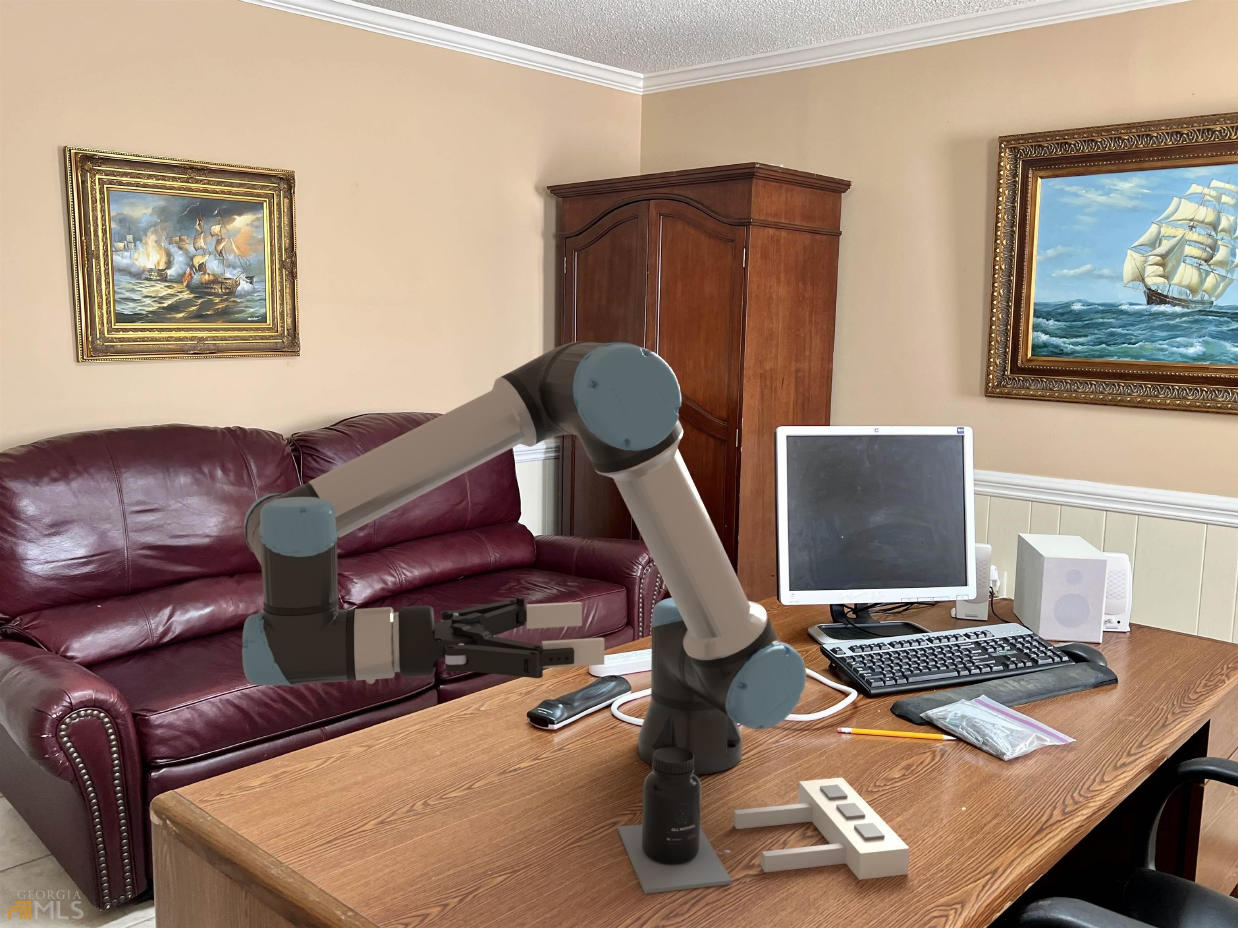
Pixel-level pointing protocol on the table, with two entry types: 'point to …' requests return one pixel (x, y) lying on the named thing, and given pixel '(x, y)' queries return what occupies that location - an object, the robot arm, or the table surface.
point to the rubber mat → (673, 866)
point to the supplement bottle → (671, 808)
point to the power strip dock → (832, 832)
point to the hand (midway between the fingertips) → (592, 631)
